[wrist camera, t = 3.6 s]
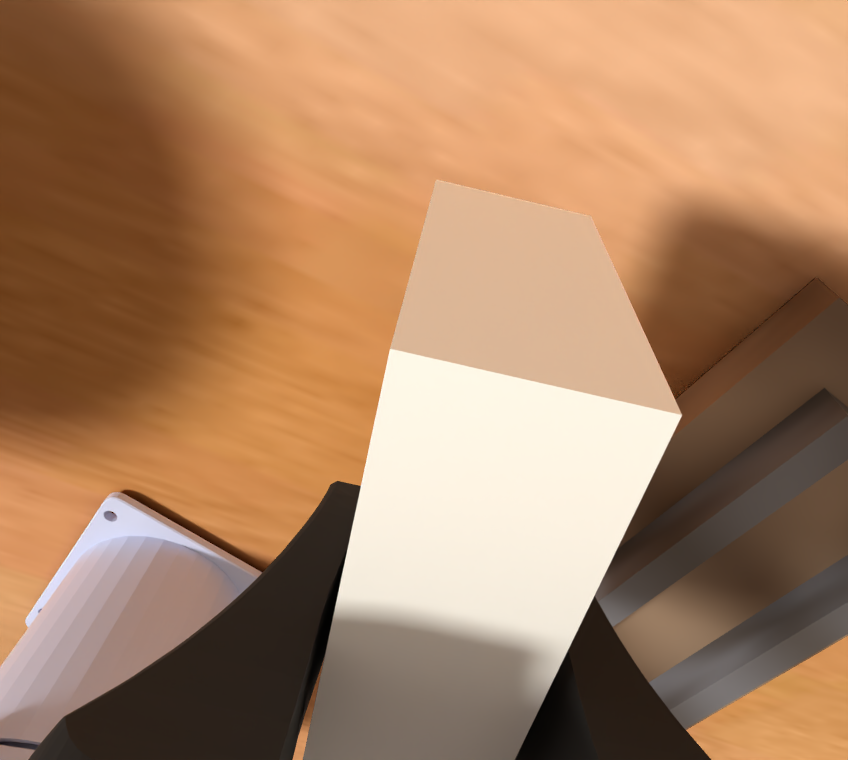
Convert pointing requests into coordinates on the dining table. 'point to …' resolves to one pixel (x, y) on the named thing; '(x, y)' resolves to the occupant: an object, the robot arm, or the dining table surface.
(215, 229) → the dining table surface
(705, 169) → the dining table surface
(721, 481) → the ledge board
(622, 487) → the ivory slab
